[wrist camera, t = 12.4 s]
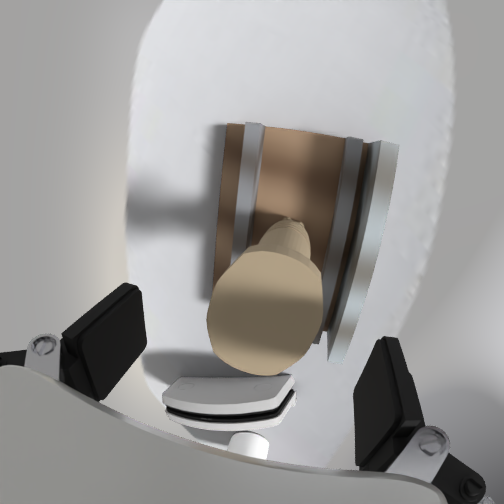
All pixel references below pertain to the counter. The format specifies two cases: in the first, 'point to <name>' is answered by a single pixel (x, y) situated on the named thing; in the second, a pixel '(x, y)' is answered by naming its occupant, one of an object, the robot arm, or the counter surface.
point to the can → (249, 445)
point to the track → (309, 209)
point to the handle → (267, 303)
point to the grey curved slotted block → (230, 402)
